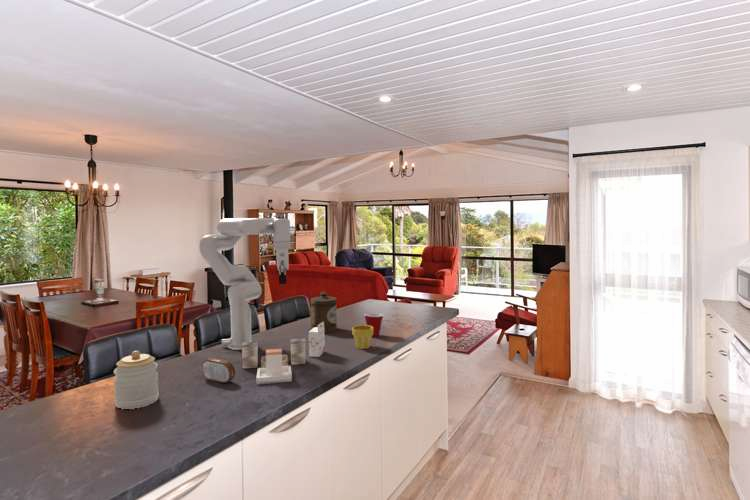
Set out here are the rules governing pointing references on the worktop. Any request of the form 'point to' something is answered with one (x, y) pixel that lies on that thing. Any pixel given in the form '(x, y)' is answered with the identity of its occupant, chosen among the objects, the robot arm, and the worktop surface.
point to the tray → (265, 379)
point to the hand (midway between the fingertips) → (282, 282)
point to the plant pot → (362, 336)
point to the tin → (218, 370)
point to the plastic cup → (374, 322)
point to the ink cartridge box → (316, 341)
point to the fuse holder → (252, 356)
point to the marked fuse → (273, 362)
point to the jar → (136, 381)
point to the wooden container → (323, 312)
